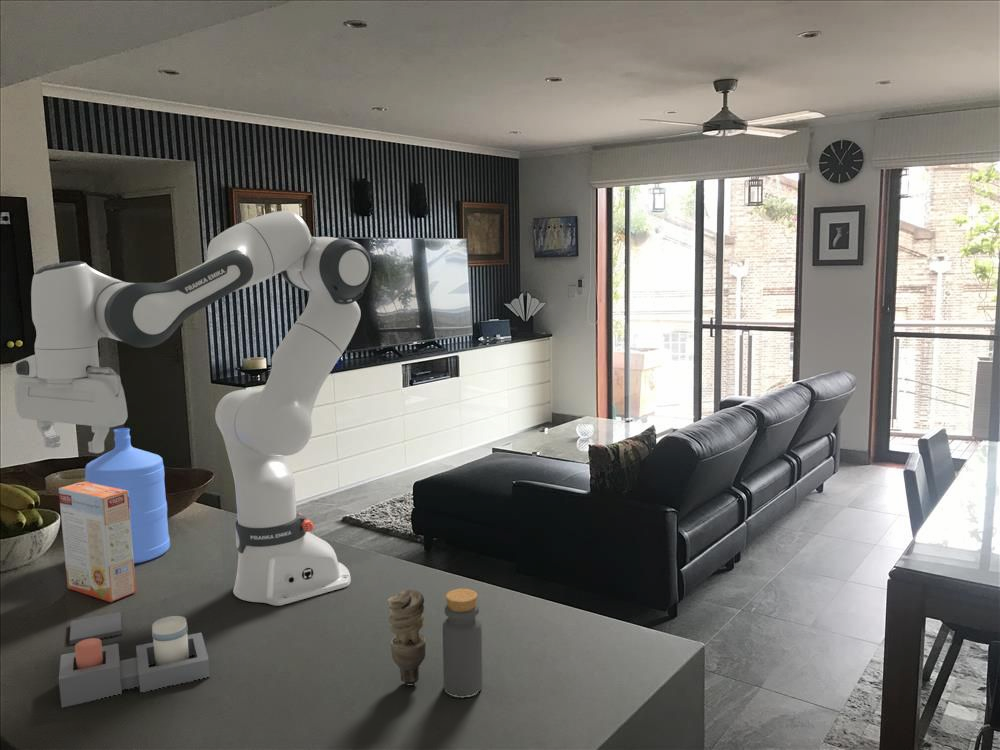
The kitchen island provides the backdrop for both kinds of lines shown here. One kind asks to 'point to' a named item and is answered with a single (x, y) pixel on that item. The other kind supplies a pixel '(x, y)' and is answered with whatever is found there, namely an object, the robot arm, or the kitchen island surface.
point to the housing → (128, 672)
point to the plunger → (88, 653)
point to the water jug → (136, 492)
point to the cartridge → (170, 640)
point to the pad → (95, 627)
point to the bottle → (462, 643)
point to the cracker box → (97, 540)
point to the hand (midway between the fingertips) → (74, 449)
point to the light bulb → (407, 633)
